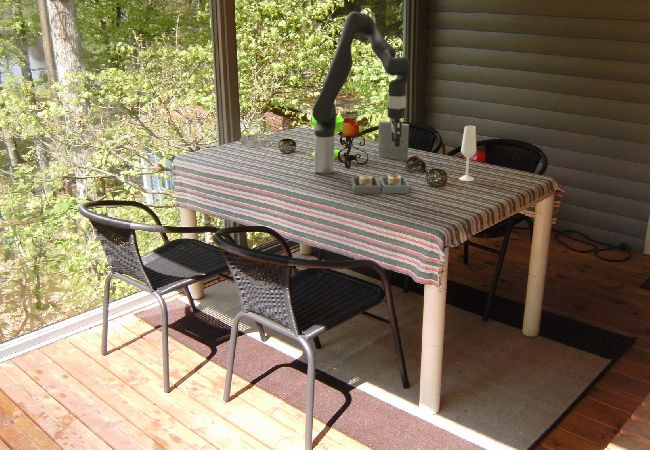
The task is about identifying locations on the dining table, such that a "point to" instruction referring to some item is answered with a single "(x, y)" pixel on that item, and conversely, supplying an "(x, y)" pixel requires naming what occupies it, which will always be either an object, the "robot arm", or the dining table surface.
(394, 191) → the slate bin
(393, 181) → the letter cube
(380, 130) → the hip flask
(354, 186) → the charcoal bin
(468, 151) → the champagne flute
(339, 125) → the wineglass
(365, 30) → the robot arm
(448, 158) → the dining table surface
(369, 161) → the dining table surface
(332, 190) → the dining table surface
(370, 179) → the blank cube
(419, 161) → the pottery mug
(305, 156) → the dining table surface
